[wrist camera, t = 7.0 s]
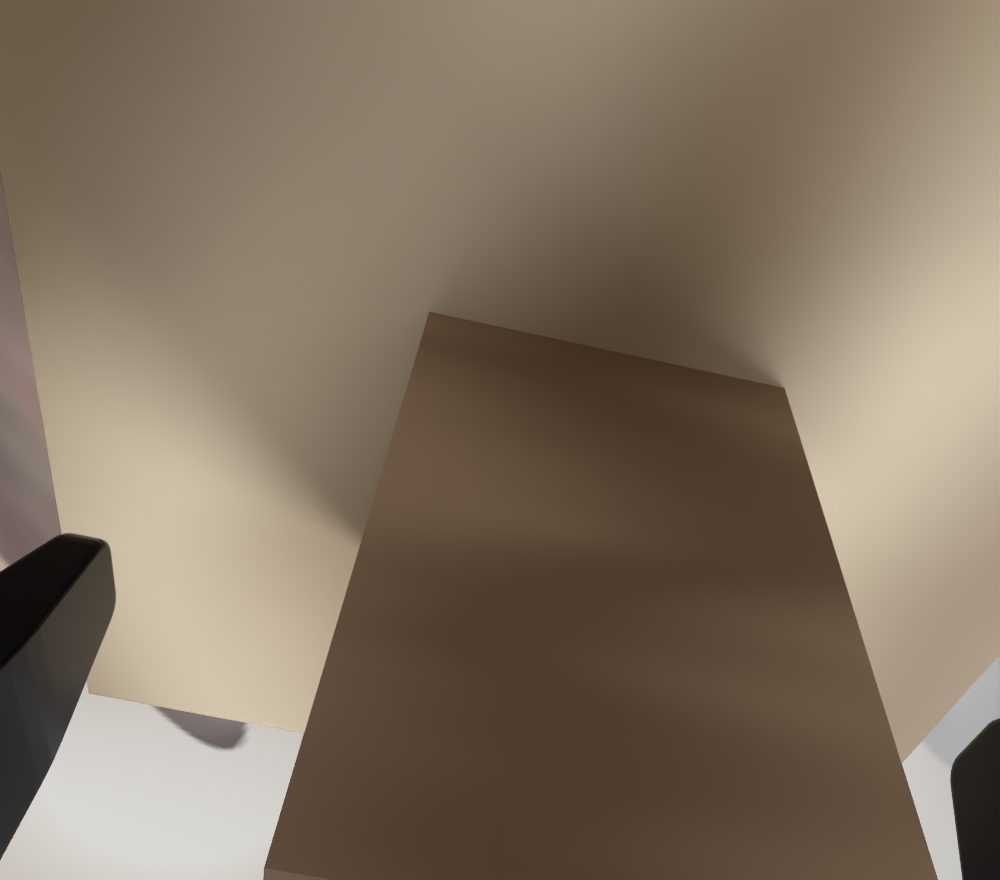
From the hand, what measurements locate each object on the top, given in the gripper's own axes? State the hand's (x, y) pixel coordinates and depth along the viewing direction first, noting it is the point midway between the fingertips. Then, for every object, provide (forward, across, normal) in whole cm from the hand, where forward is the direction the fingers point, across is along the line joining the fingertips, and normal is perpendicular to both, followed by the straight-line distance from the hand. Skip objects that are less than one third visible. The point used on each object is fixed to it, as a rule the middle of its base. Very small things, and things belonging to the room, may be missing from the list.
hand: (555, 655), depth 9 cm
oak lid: (+3, 0, 0) cm, 3 cm away
